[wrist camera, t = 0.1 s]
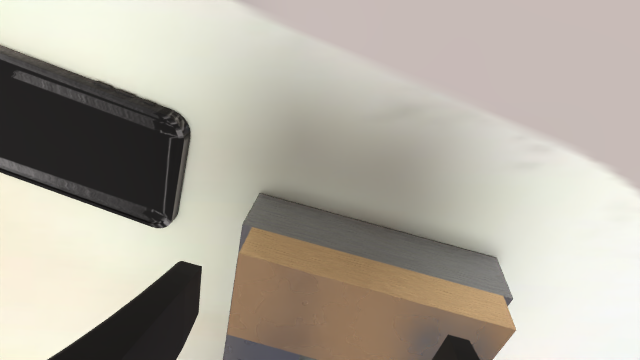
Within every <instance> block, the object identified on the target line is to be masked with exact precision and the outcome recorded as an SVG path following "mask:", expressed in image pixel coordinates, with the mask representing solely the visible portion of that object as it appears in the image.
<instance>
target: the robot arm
mask: <svg viewBox="0 0 640 360" xmlns="http://www.w3.org/2000/svg"><path fill="white" fill-rule="evenodd" d="M201 272H202V266H198V265H195V264H191V263H187V262H184V261H180V262H178V263H177V264H175V265H174V266H173V267H172V268H171V269H170V270H168V271H167V272H166V273H165V274H164V275H163V276H161V277H160V278H159V279H158V280H157V281H155V282H154V283H153V284H152V285H150V286H149V287H148V288H147V289H145V290H144V291H143V292H142V293H141V294H139V295H138V296H137V297H135V298H134V299H133V300H132V301H130V302H129V303H128V304H126V305H125V306H124V307H122V308H121V309H120V310H118V311H117V312H116V313H115V314H113V315H112V316H111V317H109V318H108V319H106V320H105V321H104V322H102V323H101V324H99V325H98V326H97V327H95V328H94V329H92V330H91V331H89V332H88V333H87V334H85V335H84V336H82V337H81V338H79V339H78V340H77V341H75V342H74V343H72V344H71V345H69V346H68V347H66V348H65V349H63V350H62V351H60V352H59V353H57V354H56V355H54V356H52V357H51V358H49V359H48V360H176V359H177V357H178V355H179V353H180V352H181V350H182V348H183V346H184V344H185V342H186V340H187V338H188V335H189V333H190V331H191V329H192V327H193V324H194V322H195V320H196V318H197V315H198V312H199V299H200V285H201ZM432 360H480V359H479V357H478V355H477V353H476V351H475V350H474V348H473V346H472V344H471V342H470V341H469V340H467V339H463V338H460V337H456V336H452V335H449V334H448V335H447V337H446V338H445V340H444V341H443V343H442V345H441V346H440V348H439V349H438V351H437V352H436V354H435V355H434V357H433V359H432Z"/></svg>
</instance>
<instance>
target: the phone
mask: <svg viewBox="0 0 640 360" xmlns="http://www.w3.org/2000/svg"><path fill="white" fill-rule="evenodd" d="M189 142H190V128H189V125H188V123H187V122H186V120H185V119H184V118H183V117H182V116H181V115H180V114H179V113H177V112H175V111H173V110H171V109H168V108H166V107H163V106H160V105H158V104H155V103H153V102H150V101H147V100H145V99H142V98H139V97H137V96H134V95H132V94H129V93H126V92H124V91H121V90H118V89H115V88H113V87H111V86H109V85H106V84H103V83H101V82H98V81H94V80H91V79H89V78H86V77H83V76H81V75H78V74H75V73H73V72H70V71H67V70H65V69H62V68H59V67H57V66H54V65H51V64H49V63H46V62H43V61H41V60H38V59H35V58H33V57H30V56H27V55H25V54H22V53H19V52H17V51H14V50H11V49H9V48H6V47H3V46H1V45H0V172H1V173H4V174H6V175H9V176H12V177H15V178H18V179H20V180H23V181H26V182H29V183H31V184H34V185H37V186H40V187H43V188H45V189H48V190H51V191H54V192H56V193H59V194H62V195H65V196H68V197H70V198H73V199H76V200H79V201H81V202H84V203H87V204H90V205H93V206H95V207H98V208H101V209H104V210H106V211H109V212H112V213H115V214H118V215H120V216H123V217H126V218H129V219H131V220H134V221H137V222H140V223H143V224H145V225H148V226H151V227H155V228H164V227H167V226H168V225H169V224H170V223H171V222H172V221H173V220H174V219H175V217H176V216H177V214H178V210H179V204H180V197H181V191H182V185H183V179H184V173H185V167H186V160H187V154H188V148H189Z"/></svg>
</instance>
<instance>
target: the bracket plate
mask: <svg viewBox="0 0 640 360" xmlns="http://www.w3.org/2000/svg"><path fill="white" fill-rule="evenodd" d="M512 300H513V297H512V295H511V292H510V290H509V287H508V285H507V282H506V280H505V277H504V275H503V272H502V270H501V267H500V265H499V263H498V260H497V258H495V257H491V256H487V255H484V254H480V253H476V252H473V251H469V250H465V249H462V248H458V247H454V246H451V245H447V244H443V243H440V242H436V241H432V240H429V239H425V238H421V237H418V236H414V235H411V234H407V233H403V232H400V231H396V230H392V229H389V228H385V227H381V226H378V225H374V224H370V223H367V222H363V221H359V220H356V219H352V218H348V217H345V216H341V215H338V214H334V213H330V212H327V211H323V210H319V209H316V208H312V207H308V206H305V205H301V204H297V203H294V202H290V201H286V200H283V199H279V198H275V197H272V196H268V195H264V194H261V193H260V194H259V195H258V197H257V199H256V201H255V203H254V204H253V206H252V208H251V210H250V212H249V214H248V215H247V217H246V219H245V221H244V223H243V225H242V232H241V239H240V245H239V252H238V259H237V266H236V273H235V280H234V287H233V294H232V301H231V308H230V315H229V322H228V328H227V335H226V342H225V349H224V356H223V360H432V359H433V357H434V355H435V354H436V352H437V351H438V349H439V348H440V346H441V345H442V343H443V341H444V340H445V338H446V337H447V335H448V334H449V335H452V336H456V337H460V338H463V339H467V340H469V341H470V342H471V344H472V346H473V348H474V350H475V351H476V353H477V355H478V357H479V359H480V360H493V358H494V357H495V356H496V355H497V353H498V352H499V351H500V350H501V348H502V347H503V346H504V345H505V343H506V342H507V341H508V340H509V338H510V337H511V336H512V335H513V333H514V332H515V331H516V328H515V326H514V323H513V320H512V318H511V315H510V312H509V310H508V307H507V306H508V305H509V304H510V302H511V301H512Z"/></svg>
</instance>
